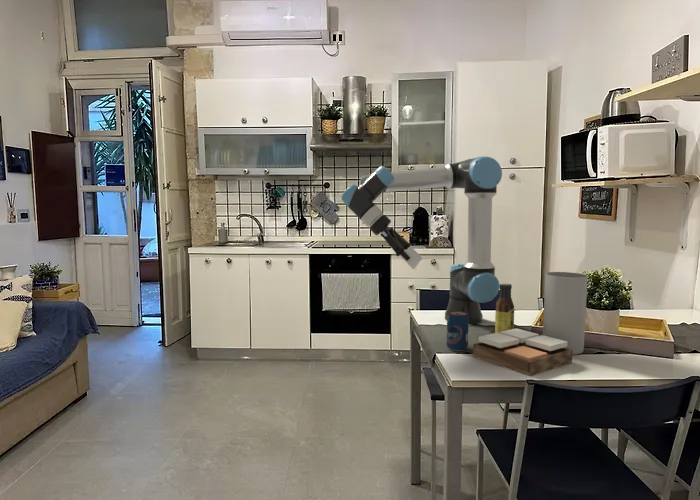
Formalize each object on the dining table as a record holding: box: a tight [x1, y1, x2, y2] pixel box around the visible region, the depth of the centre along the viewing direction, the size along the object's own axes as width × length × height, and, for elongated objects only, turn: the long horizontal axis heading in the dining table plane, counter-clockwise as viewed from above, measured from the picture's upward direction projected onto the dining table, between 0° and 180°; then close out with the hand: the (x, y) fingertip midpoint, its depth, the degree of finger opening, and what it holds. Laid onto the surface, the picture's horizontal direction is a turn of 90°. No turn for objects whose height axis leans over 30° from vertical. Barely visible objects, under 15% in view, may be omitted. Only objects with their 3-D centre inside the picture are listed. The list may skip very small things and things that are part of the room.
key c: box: [526, 334, 567, 351], centre depth 151 cm, size 8×8×2 cm
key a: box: [500, 328, 540, 343], centre depth 159 cm, size 8×8×2 cm
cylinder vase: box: [542, 271, 589, 356], centre depth 162 cm, size 12×12×25 cm
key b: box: [478, 332, 519, 348], centre depth 154 cm, size 8×8×2 cm
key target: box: [504, 346, 547, 361], centre depth 146 cm, size 8×8×2 cm
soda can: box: [446, 311, 470, 352], centre depth 163 cm, size 7×7×12 cm
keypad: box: [472, 342, 573, 377], centre depth 153 cm, size 21×21×4 cm
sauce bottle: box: [494, 283, 515, 334], centre depth 173 cm, size 7×6×20 cm
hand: (418, 263), depth 176 cm, fingers open, 13 cm apart
